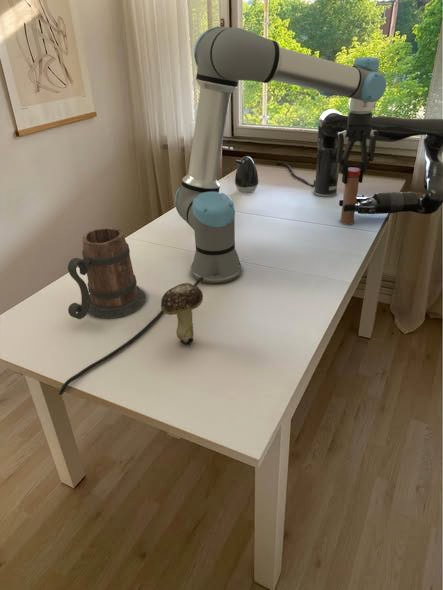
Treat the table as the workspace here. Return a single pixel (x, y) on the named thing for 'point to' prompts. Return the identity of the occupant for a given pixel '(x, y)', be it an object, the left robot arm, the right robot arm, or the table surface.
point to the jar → (349, 199)
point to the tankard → (105, 276)
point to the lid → (353, 172)
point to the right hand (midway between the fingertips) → (341, 205)
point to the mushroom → (182, 308)
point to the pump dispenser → (246, 175)
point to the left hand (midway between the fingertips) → (351, 181)
